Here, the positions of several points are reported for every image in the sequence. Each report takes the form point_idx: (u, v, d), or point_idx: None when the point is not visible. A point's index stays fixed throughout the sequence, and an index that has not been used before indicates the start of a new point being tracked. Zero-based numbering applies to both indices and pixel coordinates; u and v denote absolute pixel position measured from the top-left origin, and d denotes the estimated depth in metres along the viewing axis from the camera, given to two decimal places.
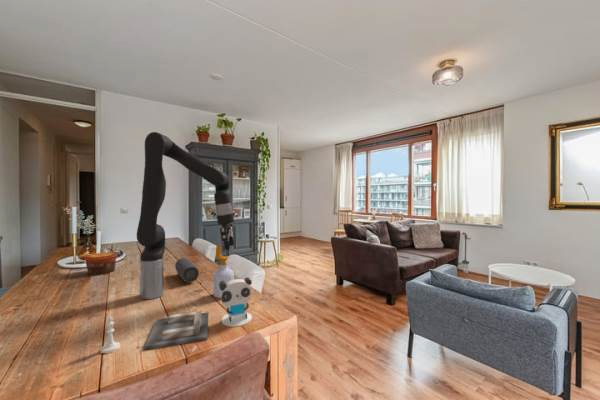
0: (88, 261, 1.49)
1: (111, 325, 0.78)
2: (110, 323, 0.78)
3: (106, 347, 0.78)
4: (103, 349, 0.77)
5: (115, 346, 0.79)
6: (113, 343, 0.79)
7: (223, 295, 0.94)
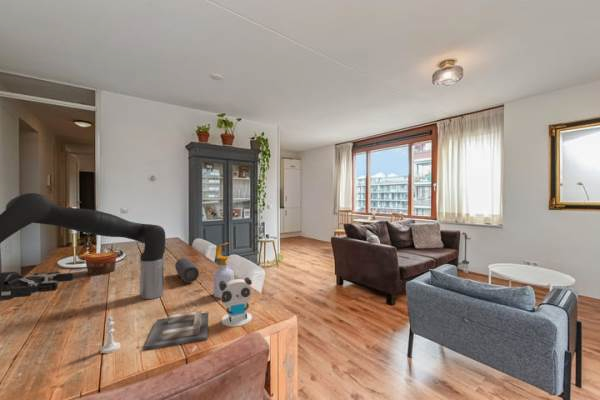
0: (88, 261, 1.49)
1: (111, 325, 0.78)
2: (110, 323, 0.78)
3: (106, 347, 0.78)
4: (103, 349, 0.77)
5: (115, 346, 0.79)
6: (113, 343, 0.79)
7: (223, 295, 0.94)
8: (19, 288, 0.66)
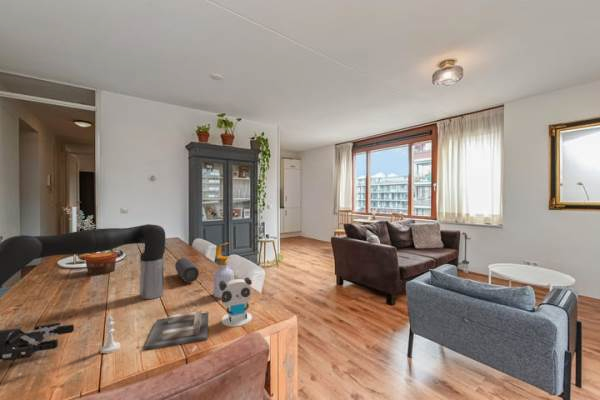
0: (88, 261, 1.49)
1: (111, 325, 0.78)
2: (110, 323, 0.78)
3: (106, 347, 0.78)
4: (103, 349, 0.77)
5: (115, 346, 0.79)
6: (113, 343, 0.79)
7: (223, 295, 0.94)
8: (20, 350, 0.67)
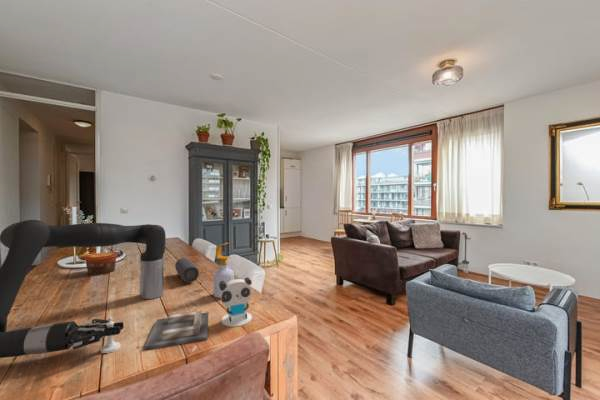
0: (88, 261, 1.49)
1: (111, 325, 0.78)
2: (110, 323, 0.78)
3: (106, 347, 0.78)
4: (103, 349, 0.77)
5: (115, 346, 0.79)
6: (113, 343, 0.79)
7: (223, 295, 0.94)
8: (91, 336, 0.74)
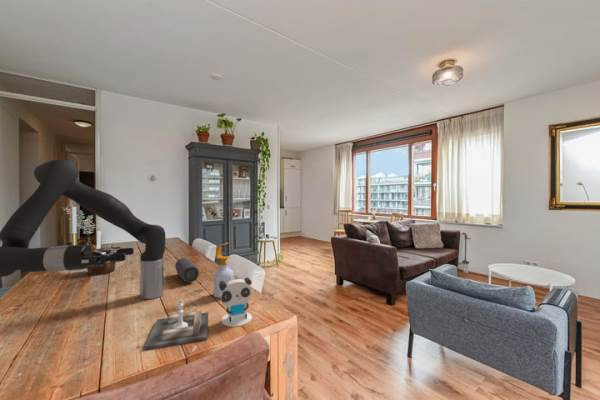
0: None
1: (181, 306, 0.89)
2: (181, 304, 0.89)
3: (177, 325, 0.88)
4: (175, 327, 0.88)
5: (185, 325, 0.89)
6: (183, 322, 0.90)
7: (223, 295, 0.94)
8: (96, 257, 0.76)
